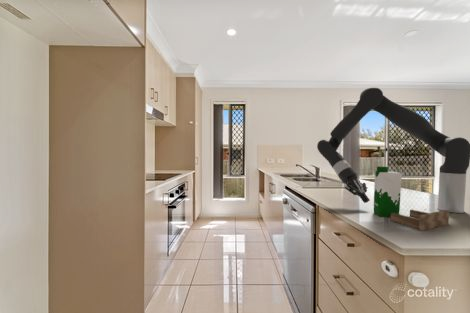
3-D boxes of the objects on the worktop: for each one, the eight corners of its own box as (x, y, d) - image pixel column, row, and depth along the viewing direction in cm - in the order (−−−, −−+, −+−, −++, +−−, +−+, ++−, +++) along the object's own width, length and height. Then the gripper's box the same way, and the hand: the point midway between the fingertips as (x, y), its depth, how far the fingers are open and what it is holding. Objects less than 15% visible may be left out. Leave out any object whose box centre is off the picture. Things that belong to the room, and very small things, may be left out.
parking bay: (413, 216, 104) (414, 204, 104) (448, 224, 94) (449, 210, 93) (387, 221, 95) (388, 208, 95) (422, 230, 85) (423, 216, 85)
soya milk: (370, 211, 110) (372, 165, 109) (393, 213, 108) (395, 166, 107) (377, 217, 101) (380, 167, 101) (402, 218, 100) (405, 168, 99)
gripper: (340, 166, 117) (363, 198, 107) (358, 166, 123) (382, 195, 113) (330, 177, 122) (352, 207, 111) (348, 176, 128) (370, 205, 118)
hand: (367, 201), depth 112 cm, fingers closed
